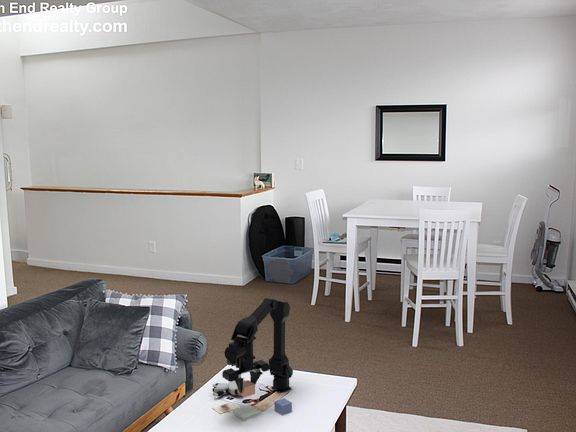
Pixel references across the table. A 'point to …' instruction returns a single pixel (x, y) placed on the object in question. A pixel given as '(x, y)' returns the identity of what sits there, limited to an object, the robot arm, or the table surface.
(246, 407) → the grey baseplate
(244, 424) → the table surface
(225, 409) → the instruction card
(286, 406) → the navy brick
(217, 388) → the robot toy
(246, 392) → the terracotta brick
